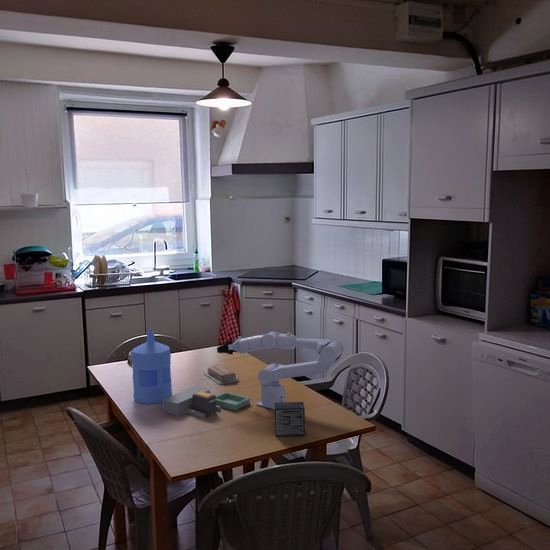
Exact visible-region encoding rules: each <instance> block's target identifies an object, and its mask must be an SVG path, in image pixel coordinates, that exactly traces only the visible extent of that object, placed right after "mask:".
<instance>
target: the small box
mask: <svg viewBox="0 0 550 550" xmlns="http://www.w3.org/2000/svg"><path fill="white" fill-rule="evenodd" d="M305 410H306V407H305V404H304V401H285V402H276V403H274V409H273V411H274V435H275V437H277V438H278V437H280V438H281V437H283V436H285V437H305V436H306V419H305V417H306V415H305V414H306V413H305ZM283 438H284V437H283Z"/></svg>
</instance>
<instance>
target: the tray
mask: <svg viewBox="0 0 550 550" xmlns="http://www.w3.org/2000/svg"><path fill="white" fill-rule="evenodd" d="M250 404H251V398H250V397H248V396H243V395H240V394H236V393H232V392H227V391H225V392H223V393H220V394H218V395H216V405H217V406H221V408H222V409H227V410H230V411H233V412H237V411H239V410H241V409H242V408H245V407H247V406H249V405H250Z"/></svg>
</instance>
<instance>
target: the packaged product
mask: <svg viewBox="0 0 550 550" xmlns="http://www.w3.org/2000/svg"><path fill="white" fill-rule="evenodd" d="M203 375H204V376H206V377H208V378H209V379H210V380H212V381H214V382H215V383H216V384H218V385H220V386H223V385H226V384H227V385H228V384H232V383H237V382H236V381H238V382H240V378H239V377H237V375H236V373H235V372H234V371H232V370H231V369H229V368H227V367H225V366H224V365H222V364H218V363H215V364H214V365H211V366H209V367H208V368H207V371H206V372H203Z"/></svg>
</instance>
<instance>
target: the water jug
mask: <svg viewBox="0 0 550 550" xmlns="http://www.w3.org/2000/svg"><path fill="white" fill-rule="evenodd" d="M131 351H132V365H133V366H132V381H133V382H132V383H133V386H132V387H133V400H134V401H135V402H136V403H139V404H142V405H143V404H144V405H156V404H161V403H162V404H163V399H164V398H167V397H170V396H172V395H173V389H172V374H171V373H172V372H171V365H172V363H171V357H172V355H171V354H172V353H171V348H170V346H168V345H166V344H163V343H160V342H157V341H156V340H155V331H153V330H151V331H146V342H144V343H142V344H140V345H138V346H136V347H134V348H133V349H132V350H131Z"/></svg>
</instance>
